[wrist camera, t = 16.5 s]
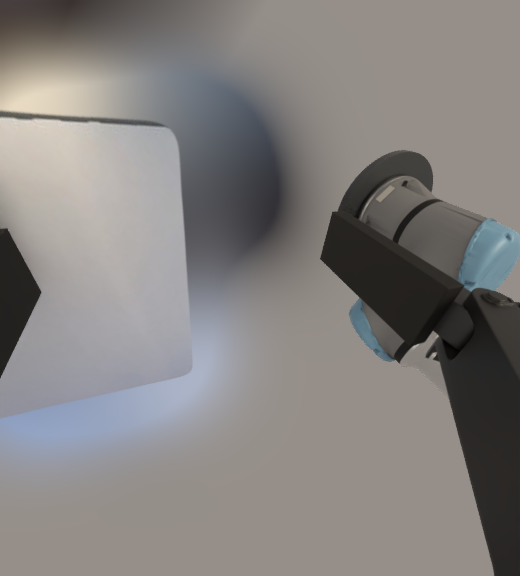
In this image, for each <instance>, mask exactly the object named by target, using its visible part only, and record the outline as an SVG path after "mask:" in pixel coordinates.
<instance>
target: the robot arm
mask: <svg viewBox="0 0 520 576" xmlns="http://www.w3.org/2000/svg"><path fill="white" fill-rule="evenodd" d="M519 255H520V235H519V234H518V233H517V232H516V231H514V230H513V229H510V228H508V227H506V226H503V225H501V224H499V223H497V221H495V220H494V219H491V218H486V217H483V216H480V215H478V214H475V213H473V212H470V211H468V210H465V209H462V208H459V207H457V206H454V205H452V204H449V203H447V202H444V201H441V200H439V199H437V198H436V197H434V195H433V194H432V193H431V192H430V191H429V190H428V189H427V188H426V187H425V186H424V185H423V184H422V183H421V182H420V181H419V180H417V179H416V178H414V177H411V176H408V175H404V174H399V175H394V176H391V177H389V178H387V179H385V180H384V181H382V182H381V183H379V184H378V185H377V186H376V187H375V188H374V189H373V190H372V191H371V192H370V193H369V194H368V195H367V197H366V198H365V199H364V201H363V203H362V204H361V206H360V208H359V210H358V213H357V216H356V218H355V217H354V216H352V215H350V214H349V213H347V212H346V211H339V212H332V216H331V220H330V223H329V227H328V231H327V235H326V239H325V242H324V246H323V250H322V254H321V258H320V259H321V260H322V261H323V262H324V263H325V264H326V265H327V266H328V267H329V268H330V269H331V270H332V271H333V272H334V273H335V274H336V275H337V276H338V277H339V278H340V279H341V280H342V281H343V282H344V283H345V284H346V285H347V286H348V287H349V288H351V289H352V290H353V291H354V292H355V293H356V294H357V295H358V296H359V297H360V298H359V299H358V300H357V302H356V303H355V304H354V305H353V306H352V307H351V309H350V313H349V316H350V320H351V323H352V325H353V327H354V329H355V330H356V332H357V333H358V335H359V336H360V338H361V339H362V340H363V341H364V343H365V344H366V345H367V346H368V347H369V348H370V349H371V350H373V351H374V352H375V354H376V355H377V356H379V357H380V358H381V359H383V360H385V361H389V362H390V361H394V360H397V362H398V363H399V364H400V365H401V366H403V367H412V368H416V369H419V370H420V371H421V372H422V373H423V374H424V375H425V376H426V377H427V378H428V379H429V380H430V381H431V382H432V383H433V384H434V385H435V386H436V387H437V388H438V389H439V390H440V391H441V392H442V393H443V394H444V395H445V396H446V397H447V398H448V399H449V400H450V404H451V408H452V411H453V415H454V420H455V423H456V427H457V431H458V435H459V438H460V443H461V446H462V450H463V454H464V458H465V461H466V465H467V469H468V473H469V477H470V481H471V485H472V488H473V492H474V496H475V500H476V504H477V508H478V511H479V515H480V519H481V523H482V527H483V531H484V535H485V538H486V542H487V546H488V550H489V553H490V558H491V561H492V565H493V570H494V576H520V303H519V302H514V301H513V300H512V299H511V298H509V297H506V296H505V295H503V294H501V293H498V292H496V291H495V290H496V289H497V288H498V287H499V286H500V285H501V284H502V283H503V281H504V280H505V279H506V277H507V276H508V275H509V273H510V272H511V270H512V269H513V267H514V266H515V264H516V262H517V260H518V258H519ZM40 294H41V290H40V289H39V287H38V285H37V283H36V281H35V279H34V277H33V276H32V274H31V272H30V270H29V268H28V266H27V264H26V263H25V261H24V259H23V257H22V255H21V253H20V251H19V250H18V248H17V246H16V244H15V242H14V240H13V238H12V237H11V235H10V233H9V231H8V229H0V378H1V375H2V373H3V371H4V369H5V367H6V365H7V363H8V361H9V359H10V357H11V355H12V353H13V351H14V348H15V346H16V344H17V342H18V340H19V338H20V336H21V334H22V332H23V330H24V328H25V326H26V324H27V321H28V319H29V317H30V315H31V313H32V311H33V309H34V307H35V305H36V303H37V301H38V299H39V297H40Z"/></svg>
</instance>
